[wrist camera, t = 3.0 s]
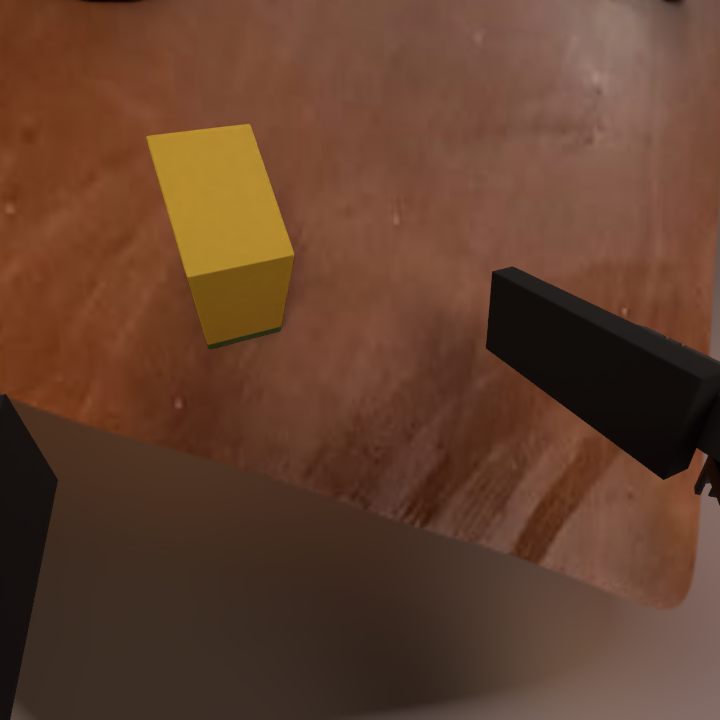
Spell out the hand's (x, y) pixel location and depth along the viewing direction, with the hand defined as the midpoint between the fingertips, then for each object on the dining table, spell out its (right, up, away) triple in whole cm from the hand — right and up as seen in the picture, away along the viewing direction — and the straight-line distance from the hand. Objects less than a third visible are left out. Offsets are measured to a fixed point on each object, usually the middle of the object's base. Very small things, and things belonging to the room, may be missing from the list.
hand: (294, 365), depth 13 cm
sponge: (-5, +4, +13) cm, 15 cm away
